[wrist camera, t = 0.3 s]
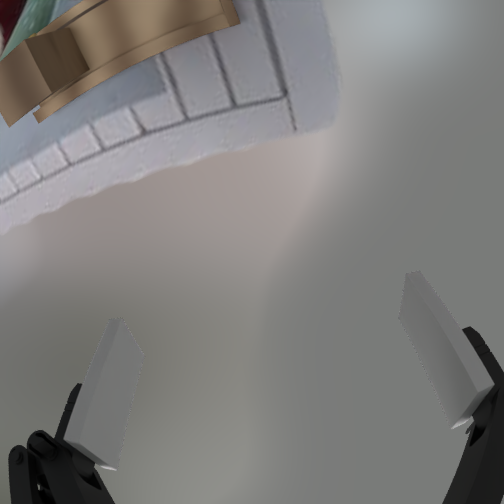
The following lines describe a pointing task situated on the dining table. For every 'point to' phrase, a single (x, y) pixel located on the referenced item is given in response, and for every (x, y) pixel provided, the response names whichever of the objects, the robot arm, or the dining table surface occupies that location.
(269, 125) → the dining table surface
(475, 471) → the robot arm
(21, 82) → the brown wooden block
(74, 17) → the brown wooden tray
